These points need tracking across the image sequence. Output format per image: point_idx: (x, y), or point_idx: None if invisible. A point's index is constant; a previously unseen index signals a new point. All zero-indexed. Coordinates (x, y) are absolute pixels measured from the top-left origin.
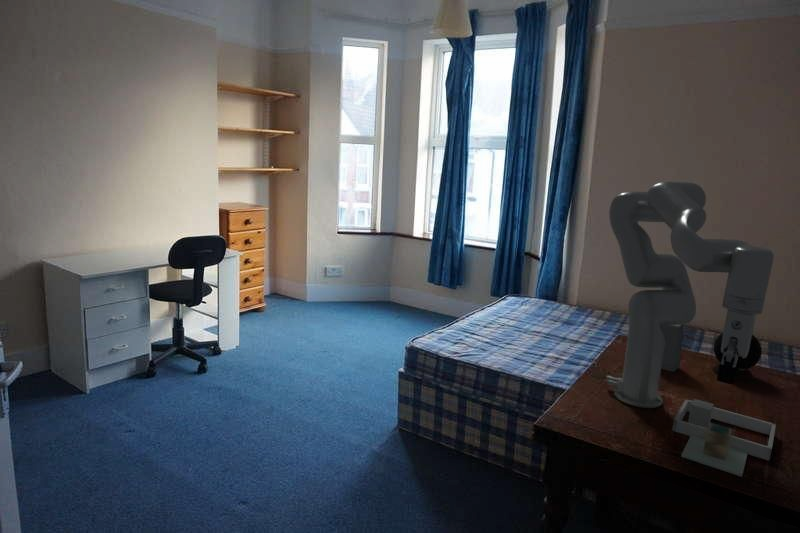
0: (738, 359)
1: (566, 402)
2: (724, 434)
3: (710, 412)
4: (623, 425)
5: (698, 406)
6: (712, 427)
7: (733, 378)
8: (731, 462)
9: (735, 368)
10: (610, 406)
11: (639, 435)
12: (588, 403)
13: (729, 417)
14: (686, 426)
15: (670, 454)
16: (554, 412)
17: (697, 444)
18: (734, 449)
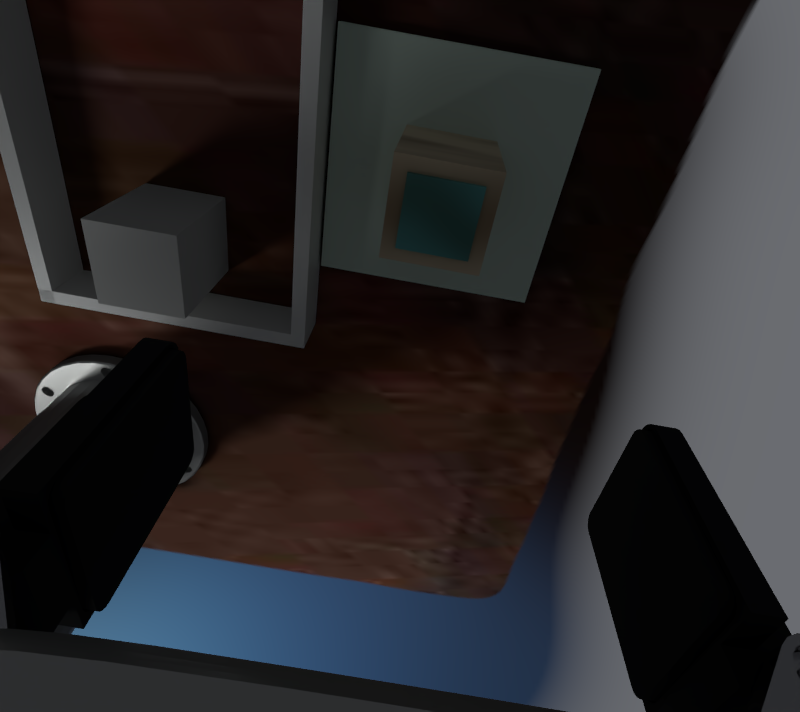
0: (106, 458)
1: (330, 569)
2: (493, 198)
3: (182, 231)
4: (383, 452)
5: (178, 289)
6: (445, 253)
7: (701, 484)
8: (498, 113)
9: (769, 612)
10: (265, 484)
11: (428, 413)
12: (292, 529)
13: (22, 100)
14: (309, 297)
15: (522, 330)
16: (416, 586)
17: None
18: (351, 89)
